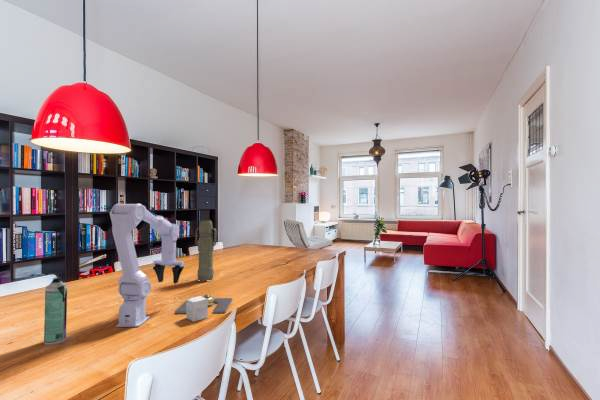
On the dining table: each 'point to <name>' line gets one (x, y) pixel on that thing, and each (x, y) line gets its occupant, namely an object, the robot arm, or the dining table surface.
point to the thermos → (205, 250)
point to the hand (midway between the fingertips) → (168, 282)
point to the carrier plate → (210, 304)
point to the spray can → (55, 312)
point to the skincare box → (196, 308)
